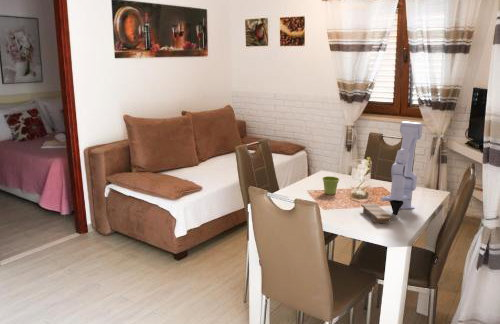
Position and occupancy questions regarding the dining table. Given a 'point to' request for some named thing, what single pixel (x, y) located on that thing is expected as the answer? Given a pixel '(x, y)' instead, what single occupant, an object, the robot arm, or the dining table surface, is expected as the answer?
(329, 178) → the plant pot
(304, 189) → the dining table surface
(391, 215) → the grey shell
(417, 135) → the robot arm
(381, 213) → the walnut shelf
